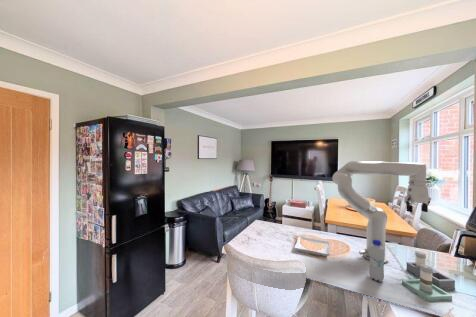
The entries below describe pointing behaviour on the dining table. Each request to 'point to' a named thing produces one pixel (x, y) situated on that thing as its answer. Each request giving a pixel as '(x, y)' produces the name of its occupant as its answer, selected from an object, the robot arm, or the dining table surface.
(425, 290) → the fuse
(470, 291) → the dining table surface
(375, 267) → the bottle
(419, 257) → the cylinder
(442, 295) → the tray
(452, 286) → the block
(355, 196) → the robot arm
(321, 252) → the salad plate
